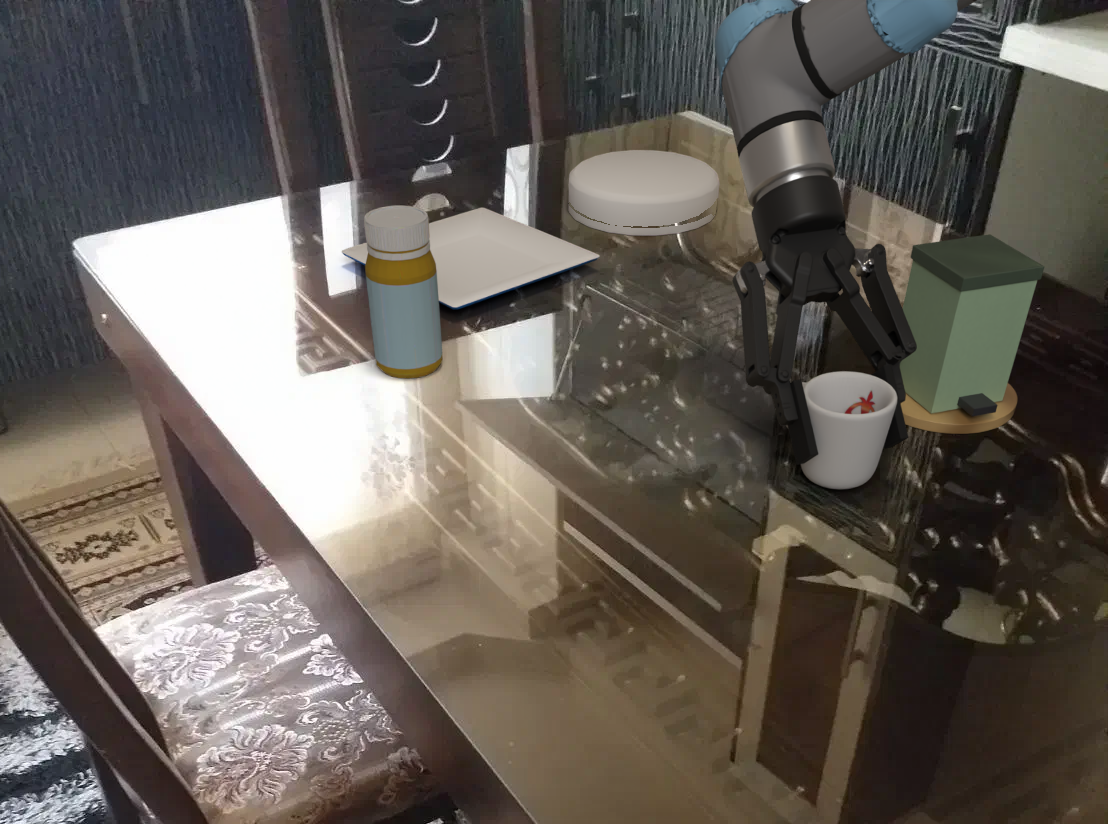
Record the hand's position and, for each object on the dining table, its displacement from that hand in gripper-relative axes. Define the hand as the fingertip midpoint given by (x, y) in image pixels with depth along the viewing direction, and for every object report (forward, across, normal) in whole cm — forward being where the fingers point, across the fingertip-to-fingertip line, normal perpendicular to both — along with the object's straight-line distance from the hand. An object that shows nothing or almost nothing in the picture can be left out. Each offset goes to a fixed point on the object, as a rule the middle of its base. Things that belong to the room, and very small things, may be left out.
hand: (852, 451), depth 99 cm
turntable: (-6, -18, -12) cm, 22 cm away
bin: (-6, -18, -10) cm, 21 cm away
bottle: (-23, +31, -29) cm, 48 cm away
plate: (-39, +17, -46) cm, 63 cm away
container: (-48, -10, -54) cm, 74 cm away
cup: (0, 0, -5) cm, 5 cm away
